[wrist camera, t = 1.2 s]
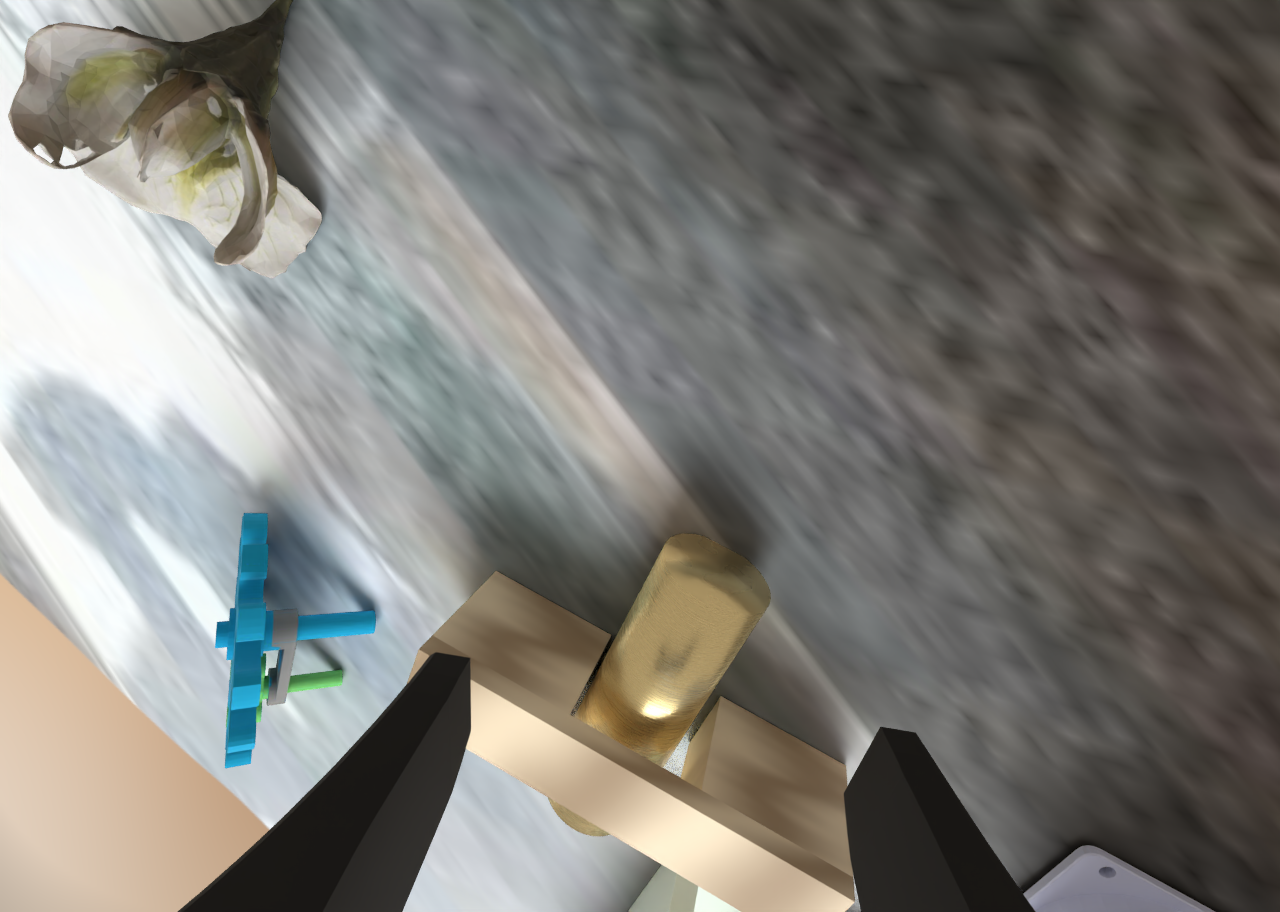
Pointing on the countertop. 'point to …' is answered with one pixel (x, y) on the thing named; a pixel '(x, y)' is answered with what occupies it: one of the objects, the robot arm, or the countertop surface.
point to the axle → (672, 650)
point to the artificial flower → (172, 129)
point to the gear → (269, 644)
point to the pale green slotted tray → (676, 896)
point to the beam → (651, 763)
